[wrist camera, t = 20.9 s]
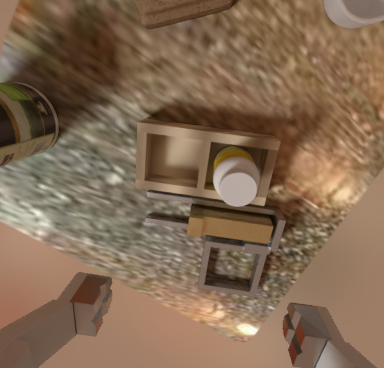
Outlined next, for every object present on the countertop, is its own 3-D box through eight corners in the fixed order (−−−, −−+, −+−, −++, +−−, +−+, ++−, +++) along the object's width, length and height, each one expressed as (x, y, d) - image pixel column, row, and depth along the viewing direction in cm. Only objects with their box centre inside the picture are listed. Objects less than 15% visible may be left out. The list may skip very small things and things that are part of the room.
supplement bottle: (206, 154, 34) (203, 178, 25) (242, 137, 33) (252, 155, 24) (223, 186, 36) (226, 219, 26) (257, 170, 34) (273, 200, 25)
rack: (273, 135, 33) (280, 141, 30) (259, 194, 37) (264, 205, 33) (145, 118, 34) (137, 122, 30) (143, 177, 37) (135, 187, 34)
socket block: (278, 207, 37) (286, 220, 33) (255, 288, 43) (259, 307, 40) (149, 189, 38) (142, 199, 34) (144, 271, 44) (138, 288, 40)
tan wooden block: (267, 213, 38) (274, 229, 33) (263, 229, 39) (269, 247, 34) (192, 202, 38) (189, 217, 34) (189, 218, 39) (186, 235, 35)
